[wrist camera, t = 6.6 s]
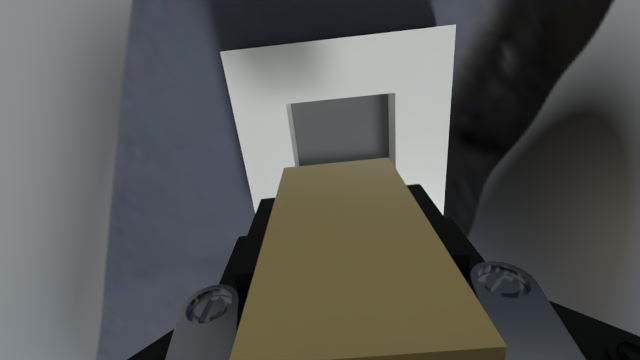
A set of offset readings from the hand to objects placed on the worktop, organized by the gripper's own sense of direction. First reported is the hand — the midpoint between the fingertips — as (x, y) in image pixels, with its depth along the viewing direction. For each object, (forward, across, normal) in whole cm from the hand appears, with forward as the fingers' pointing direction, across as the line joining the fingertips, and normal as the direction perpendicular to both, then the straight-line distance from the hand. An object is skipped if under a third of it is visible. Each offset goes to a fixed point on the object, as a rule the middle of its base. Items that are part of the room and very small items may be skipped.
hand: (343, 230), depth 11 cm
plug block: (+2, 0, 0) cm, 2 cm away
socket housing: (+10, -1, 0) cm, 11 cm away
